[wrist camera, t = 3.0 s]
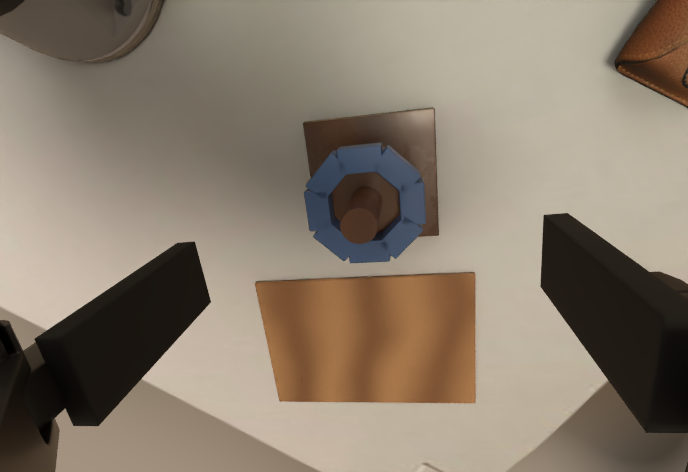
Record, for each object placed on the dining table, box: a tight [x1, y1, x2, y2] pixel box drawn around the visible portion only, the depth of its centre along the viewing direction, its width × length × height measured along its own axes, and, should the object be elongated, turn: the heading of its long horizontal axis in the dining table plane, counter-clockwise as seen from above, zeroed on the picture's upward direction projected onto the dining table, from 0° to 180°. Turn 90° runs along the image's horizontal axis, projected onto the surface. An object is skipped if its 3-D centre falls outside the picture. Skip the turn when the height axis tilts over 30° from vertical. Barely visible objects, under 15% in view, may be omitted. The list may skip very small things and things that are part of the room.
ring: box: [304, 143, 426, 263], centre depth 25 cm, size 7×7×2 cm
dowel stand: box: [303, 108, 439, 244], centre depth 26 cm, size 10×10×12 cm
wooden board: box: [255, 272, 475, 403], centre depth 38 cm, size 20×14×1 cm
